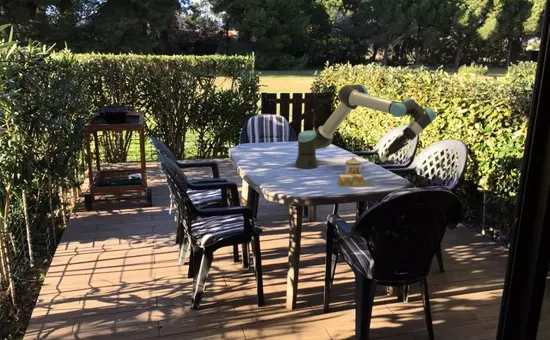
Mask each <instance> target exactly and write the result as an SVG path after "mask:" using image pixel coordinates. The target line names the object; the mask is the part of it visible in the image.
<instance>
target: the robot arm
mask: <svg viewBox="0 0 550 340" xmlns="http://www.w3.org/2000/svg"><path fill="white" fill-rule="evenodd" d="M337 97H338V100H339V101H340V103H339V104H338V105H337V107H336V108H335V109H334V111H332V114H331V115H330V116H329V117H328V118H327V120H326V121H325V123H324V124H323V125H320V126H319V127H318V128H317V129H316V130H315V131H314V130H304V131H301V132H299V133H298V137H297V142H298V143H297V157H296V161H295V163H294V164H295V168H298V169H307V170H309V169H316V168H318V165H319V164H318V163H319V162H318V159H317V156H316V150H319V149H325V148H328V147H330V146H331V144H333V143H332V142H333V138H334V133H335V132H336V131H337V130H338V128H339V127H340V125H341V124H342V123H343V122H344V121H345V120H346V118H347V117H348V116H349V114H350V113H351V112H352V111H353V110H357V108H358V107H359V106H360V107H363V108H367V109H370V110H374V111H378V112H383V113H386V114H389V115H391V116H392V117H395V118H397V117H398V118H401V117H406V116H410V117H411V118H413V120H412V121H411V122H410V123H409V124H408V125H407V126H406V127H405V128H404V129H403V130H402V133H403V134H401V135H400V136H396V137H395V139H394V140H393V141H392V143H391V144H390V145H388V147H387V151H386V152H384V154H382V155H381V156H380V157H379V160H380V161H381V162H382V163H384V162H386V160H387V159H388V158H389V157H390V156H392V155H395V154H396V153H398V152H399V151H401V150H402V149H403V148H404V147H406V146H407V145H409V141H413V140H414V139H416V137H417V136H418V135H420V134H422V131H424V130H425V129H426V128H427V127H428V126H430V124H432V123H433V122H434V120H435V119H436V118H437V113H436V112H435V111H434V110H433V109H432V108H431V107H426V108H425V107H422V106H421V105H420V104H419V103H417V102H416V101H415V99H413V98H411V97H407V98H404V100H402V102H401V101H397V100H393V99H388V98H385V97H380V96H376V95H372V94H369V91H368V89H367V87H366V86H365V85H363V84H360V83H359V84H358V83H356V84H346V85H342V87H340V89H339V90H338V93H337Z"/></svg>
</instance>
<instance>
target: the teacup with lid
mask: <svg viewBox="0 0 550 340" xmlns="http://www.w3.org/2000/svg"><path fill="white" fill-rule="evenodd" d="M361 166H362V167H363V168H362V170H361ZM365 168H366V167H365V165H364V164H363V163H361V161H360V160H357V159H356V157H352V156H351V158H350V159H347V160H346V161H345V174H344V175H356V174H361V173H363V172H364V170H365Z"/></svg>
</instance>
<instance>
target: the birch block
mask: <svg viewBox="0 0 550 340" xmlns="http://www.w3.org/2000/svg"><path fill="white" fill-rule="evenodd" d="M364 179H365V177H364V175H363V174H361V173H360V174H356V175H345V174H338V181H339V184H340V185H341V186H347V185H363V181H365V180H364ZM339 184H338V185H339ZM340 185H339V186H340ZM341 186H340V187H341Z"/></svg>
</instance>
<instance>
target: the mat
mask: <svg viewBox="0 0 550 340" xmlns="http://www.w3.org/2000/svg"><path fill="white" fill-rule="evenodd" d="M336 183H337V184H338V186H340V187H341V188H342V189H345V188H377V185H375V183H373V182H372V181H370V180H363V185H347V186H341V185H340V184H339V180H338V181H336Z"/></svg>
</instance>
